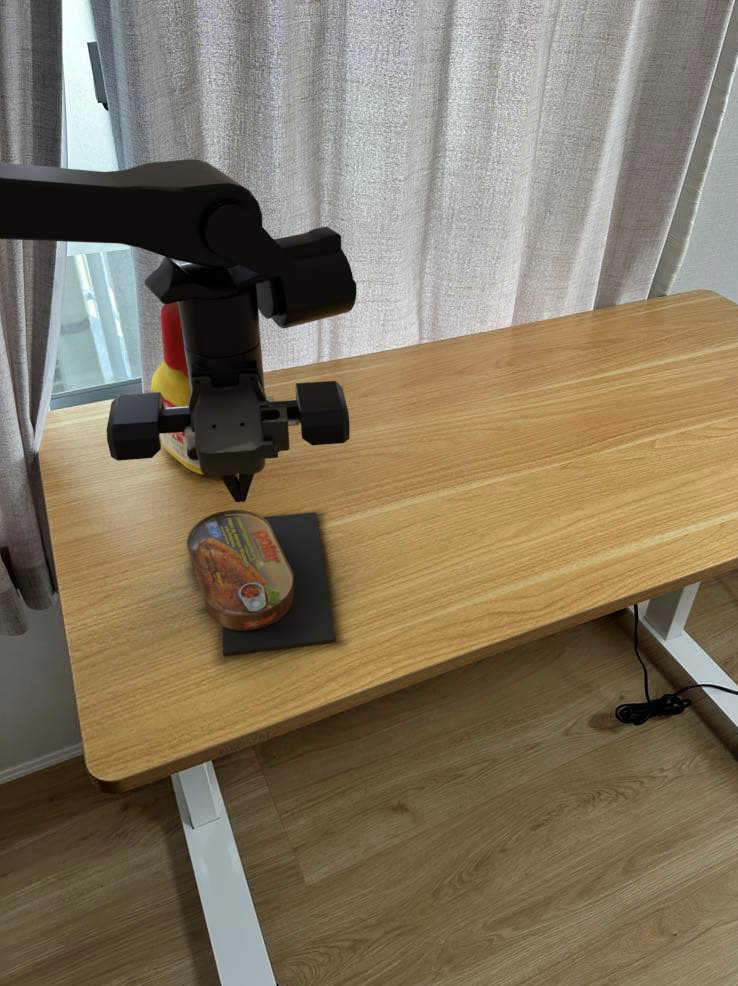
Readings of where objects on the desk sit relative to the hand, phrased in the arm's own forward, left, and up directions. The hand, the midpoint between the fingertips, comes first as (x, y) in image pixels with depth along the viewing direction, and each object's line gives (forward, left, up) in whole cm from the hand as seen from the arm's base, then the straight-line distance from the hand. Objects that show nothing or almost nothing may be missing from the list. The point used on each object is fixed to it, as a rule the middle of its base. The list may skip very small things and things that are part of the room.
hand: (240, 499), depth 71 cm
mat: (+2, +2, -12) cm, 12 cm away
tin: (-5, +1, -10) cm, 11 cm away
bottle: (-5, +23, -12) cm, 26 cm away
